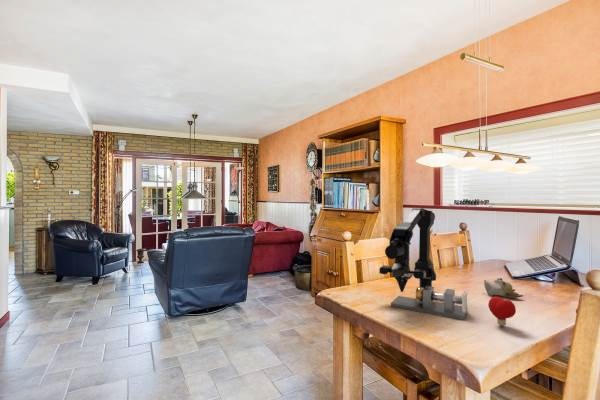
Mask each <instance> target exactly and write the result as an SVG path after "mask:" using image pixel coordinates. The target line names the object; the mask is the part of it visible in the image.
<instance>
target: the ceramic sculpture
mask: <svg viewBox="0 0 600 400" xmlns="http://www.w3.org/2000/svg"><path fill="white" fill-rule="evenodd" d="M483 283H484V284H483V285H484V289H485V292H486V293H487V295H488V296H489V297H490V296H492V297H494V295H496V296H498V297H501V298H502V297H504V298H507V297H508V298H513V299H516V298H517V299H518V298H521V297H524V295H523V294H519V293H518V292H517V291H516V289H515V288H513V285H512V284H511V283H510V282H509V281H507V280H503V278H496V279H495V280H493V281H490V280H487V279H484V280H483Z"/></svg>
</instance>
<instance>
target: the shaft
mask: <svg viewBox="0 0 600 400" xmlns="http://www.w3.org/2000/svg"><path fill="white" fill-rule="evenodd" d="M423 289H424V288H421V287H419V286H416V289H415V299H416V300H417V301H423ZM431 300H434V301H435V302H441V303H444V293H439V292H434V293H433V292H432V293H431ZM453 303H455V305H460V306H462V296H459V295H455V296H453Z"/></svg>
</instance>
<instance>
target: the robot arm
mask: <svg viewBox="0 0 600 400" xmlns="http://www.w3.org/2000/svg"><path fill="white" fill-rule="evenodd" d="M435 219H436V215H435V212H433V211H432V210H428V209H425V208H423V207H414V208H412V209H411V212H409V214H408V216H407V217H406V219H405V220H404V221H403V222H402V223H399V224H397V225H396V226H395V227H394V228H393V230H392V233H391V236H390V239H389V240H388V241H389V242H388V243H389V244H388V245H387V246H386V248H385V249H384V254H385V255H386V257H387V258H388V259H390V260H394V263H393V264H392V266H391V265H382V266H381V267H379V271H378V273H379V274H381V275H387V274H389V273H391V274H392V275H391V276H392V277H393V278H395V280H396V282H397V285H398V289H399V290H400V292H401V293H403V292H404V290H405V288H406V285H407V283H408V281H409V280H410V279H411V278H413V277H414V279H418V281H419V283H418V284H419V286H418V287H421V288H425V287H426V286H431V287H433V284H432V283H433V281H437V273H436V271H435V269H434V264H433V262H432V260H431V259H430V258H431V257H430V253H431V252H430V250H431V249H430V247H431V246H430V245H431V229H432V227H433V225H434V224H435ZM416 226H417V227H418V228H419V238H418V239H419V243H418V244H419V245H418V252H419V253H418V259H417V260H416V261H415V262H414V267H413V268H414V269H413V270H411V267H410V258H411V257H410V245H411V244H412V243H411V240H412V238H413V236H414V233H413V232H414V231H413V230H414V229H415V227H416Z"/></svg>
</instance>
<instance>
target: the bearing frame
mask: <svg viewBox="0 0 600 400" xmlns="http://www.w3.org/2000/svg"><path fill="white" fill-rule="evenodd" d="M432 292H433V293H435V287H434V286H432V287H431V286H426V287H425V288H424V289H423V301H417V300H416V297H415V298H414V297H408V296H402V295H398V296H397V297H396V298H394V299H393V301H391V302H390V307H392V308H396V309H401V310H402V309H403V310H407V311H411V312H412V311H413V312H417V313H423V314H428V315H433V316H434V315H436V316H441V317H444V318H449V319H456V320H460V321H461V320H462V321H465V319H466V316H467V313H468V303H467V302H468V291H466V290H464V291H463V293H462V295H461V297H462V305H459V304H455V303H453V296H456V295H455V289H451V288H446V289H445V291H444V293H443V294H444V302H441V301H435V300H431V293H432Z"/></svg>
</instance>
